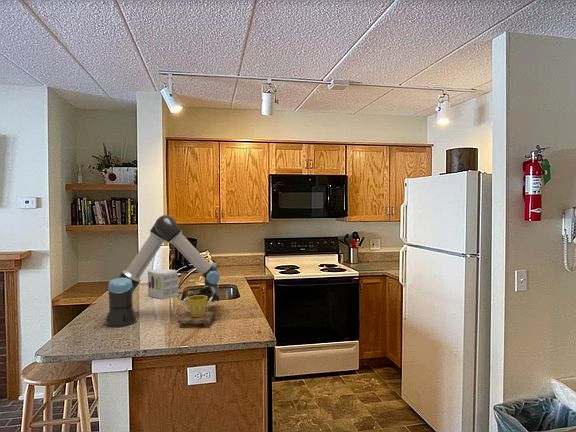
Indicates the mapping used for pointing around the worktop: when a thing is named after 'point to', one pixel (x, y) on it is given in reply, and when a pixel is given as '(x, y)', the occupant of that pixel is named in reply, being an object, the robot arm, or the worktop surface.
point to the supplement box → (163, 283)
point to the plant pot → (197, 305)
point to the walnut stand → (197, 319)
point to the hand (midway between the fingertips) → (196, 302)
